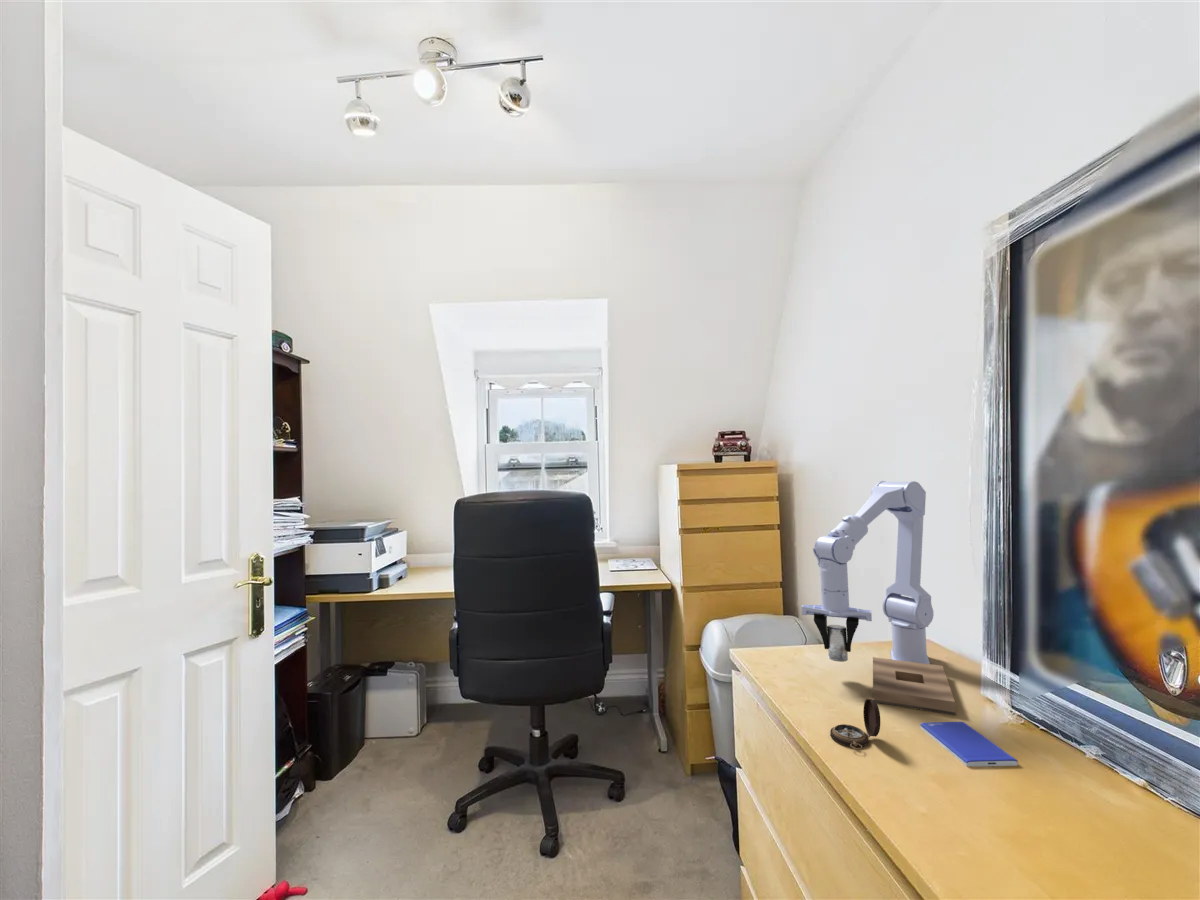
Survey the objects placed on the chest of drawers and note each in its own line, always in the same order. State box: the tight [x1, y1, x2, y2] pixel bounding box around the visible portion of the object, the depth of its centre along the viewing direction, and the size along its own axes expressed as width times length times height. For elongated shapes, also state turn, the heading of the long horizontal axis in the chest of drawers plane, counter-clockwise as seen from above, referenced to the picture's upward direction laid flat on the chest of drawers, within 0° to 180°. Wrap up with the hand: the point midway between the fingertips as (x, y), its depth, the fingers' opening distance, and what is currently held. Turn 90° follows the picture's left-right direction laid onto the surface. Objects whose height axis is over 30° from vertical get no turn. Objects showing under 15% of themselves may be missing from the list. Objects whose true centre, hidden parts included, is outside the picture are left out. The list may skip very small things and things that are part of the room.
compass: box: [829, 697, 881, 750], centre depth 92 cm, size 8×8×7 cm
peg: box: [827, 624, 849, 663], centre depth 119 cm, size 4×4×7 cm
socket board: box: [872, 656, 957, 716], centre depth 112 cm, size 20×14×2 cm
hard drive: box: [919, 721, 1019, 768], centre depth 89 cm, size 2×8×12 cm
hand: (837, 649), depth 119 cm, fingers closed on peg, 4 cm apart
